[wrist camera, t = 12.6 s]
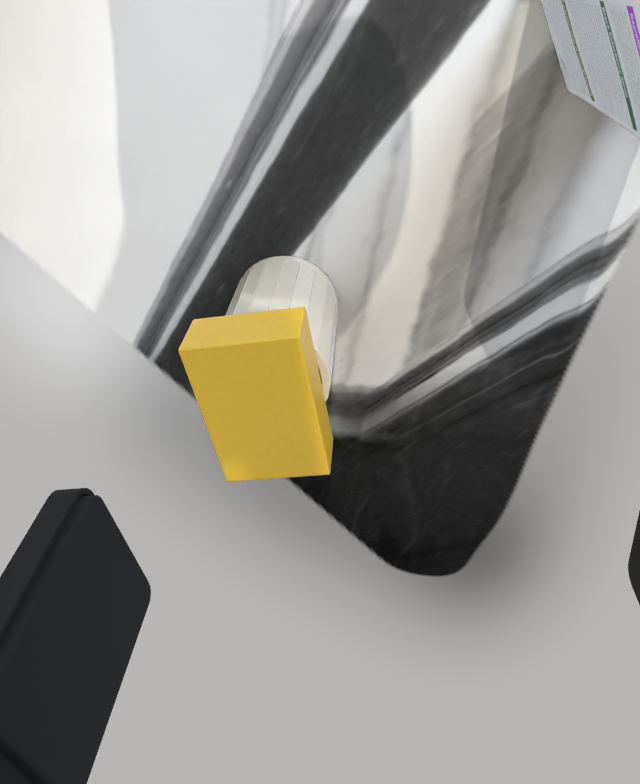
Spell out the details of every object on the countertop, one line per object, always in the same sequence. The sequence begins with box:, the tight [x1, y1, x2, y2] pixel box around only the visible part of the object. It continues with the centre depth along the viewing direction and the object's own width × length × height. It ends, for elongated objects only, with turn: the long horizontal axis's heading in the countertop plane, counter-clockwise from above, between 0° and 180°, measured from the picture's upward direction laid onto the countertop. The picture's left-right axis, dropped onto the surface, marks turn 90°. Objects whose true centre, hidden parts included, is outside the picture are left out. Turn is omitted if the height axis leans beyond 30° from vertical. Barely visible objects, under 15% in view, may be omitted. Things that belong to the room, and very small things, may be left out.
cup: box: [225, 256, 338, 402], centre depth 36 cm, size 7×7×9 cm
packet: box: [178, 306, 333, 482], centre depth 31 cm, size 9×6×3 cm, turn 10°
